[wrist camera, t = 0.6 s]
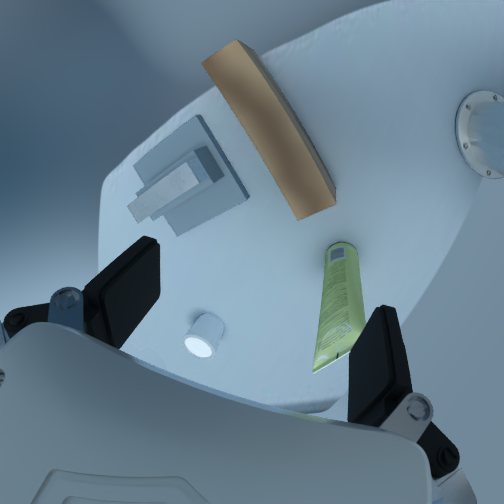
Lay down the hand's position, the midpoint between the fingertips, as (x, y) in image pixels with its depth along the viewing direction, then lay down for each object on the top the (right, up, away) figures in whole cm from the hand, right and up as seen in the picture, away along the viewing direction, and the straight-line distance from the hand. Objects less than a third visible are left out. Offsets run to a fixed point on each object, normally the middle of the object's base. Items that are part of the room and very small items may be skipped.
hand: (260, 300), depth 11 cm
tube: (+13, +1, +30) cm, 32 cm away
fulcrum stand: (-10, +13, +30) cm, 34 cm away
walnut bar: (+3, +19, +23) cm, 30 cm away
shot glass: (-9, -13, +44) cm, 47 cm away
